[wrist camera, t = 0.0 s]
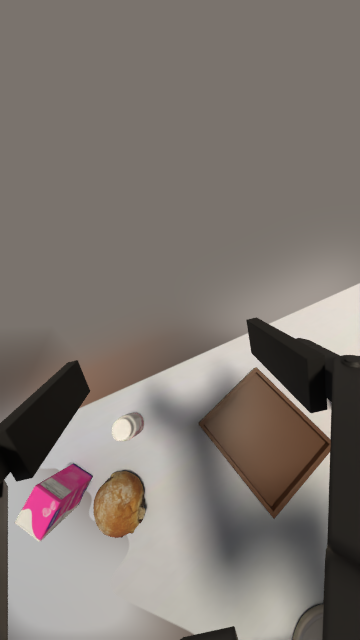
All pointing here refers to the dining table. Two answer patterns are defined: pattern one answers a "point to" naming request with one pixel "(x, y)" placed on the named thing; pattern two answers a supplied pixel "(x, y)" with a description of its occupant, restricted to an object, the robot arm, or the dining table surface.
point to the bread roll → (119, 504)
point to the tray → (266, 440)
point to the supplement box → (53, 501)
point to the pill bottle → (127, 427)
